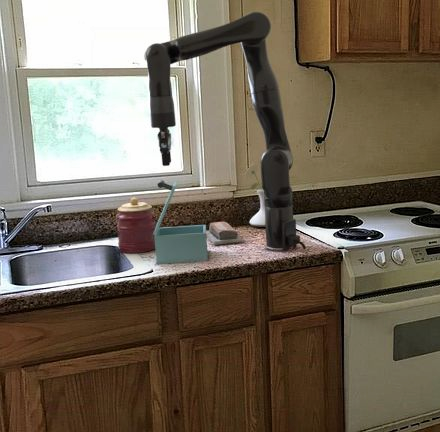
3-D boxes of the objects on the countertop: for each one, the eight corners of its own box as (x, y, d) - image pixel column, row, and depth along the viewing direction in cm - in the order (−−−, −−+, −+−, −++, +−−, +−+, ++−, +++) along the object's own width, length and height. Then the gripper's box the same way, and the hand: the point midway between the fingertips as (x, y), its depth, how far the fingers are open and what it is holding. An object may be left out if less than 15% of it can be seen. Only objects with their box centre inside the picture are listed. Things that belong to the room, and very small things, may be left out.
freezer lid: (177, 180, 205) (162, 174, 204) (176, 186, 193) (159, 179, 192) (158, 226, 207) (142, 220, 206) (155, 235, 195) (138, 228, 194)
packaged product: (203, 222, 233) (230, 219, 236) (204, 235, 234) (231, 232, 237) (213, 232, 216) (241, 229, 219) (214, 246, 217) (242, 242, 220)
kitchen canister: (146, 242, 226) (142, 193, 223) (164, 248, 217) (160, 196, 213) (112, 249, 218) (107, 198, 215) (130, 255, 208) (125, 202, 205)
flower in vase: (267, 221, 253) (264, 158, 249) (285, 225, 245) (282, 160, 240) (240, 226, 246) (236, 162, 241) (257, 231, 237) (253, 164, 232)
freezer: (207, 250, 211) (205, 224, 209) (207, 260, 199) (205, 233, 197) (159, 253, 209) (157, 227, 207) (156, 264, 197) (154, 236, 195)
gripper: (173, 111, 188) (178, 166, 192) (175, 110, 202) (179, 161, 205) (147, 112, 187) (153, 167, 191) (151, 111, 201) (156, 162, 204)
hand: (167, 164), depth 198 cm, fingers open, 8 cm apart
